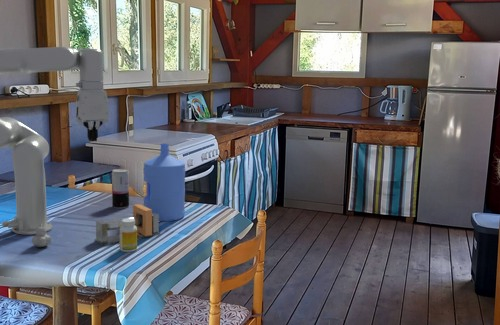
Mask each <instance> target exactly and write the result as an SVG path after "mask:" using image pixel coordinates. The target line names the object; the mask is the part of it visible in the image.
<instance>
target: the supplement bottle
mask: <svg viewBox="0 0 500 325" xmlns="http://www.w3.org/2000/svg"><path fill="white" fill-rule="evenodd" d="M126 218H127V217H126ZM122 225H123V226H121V227H120V229H119V234H120V242H119V250H120V252H123V253H131V252H135V251H137V249H138V239H137V227H136V226H135V219H131V218H127V219H123V220H122Z"/></svg>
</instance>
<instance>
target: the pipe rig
mask: <svg viewBox="0 0 500 325" xmlns="http://www.w3.org/2000/svg"><path fill="white" fill-rule="evenodd" d="M127 218H131V219H135V226H142V225H143V215H141V214H140V215H136V216H133V215H132V216H130V217H129V216H128V217H122V218H116V219H112V220H111V219H110V220H105V221H104V220H102V219H99V220H96V221H95V236H96V237H95V239H94V241H95V242H96V243H98V244H100V245H101V246H106V245H112V244H116V243H120V233H119V234H116V235H115V234H114V235H110V236H108V232H109V231H113V230H120V227H121V226H123V225H122V220H123V219H127ZM159 222H160V221H159V214H156V213H154V212H152V235H150V236H144V235H142V234H141V233H139V232H137V240H138V239H141V238H147V237H153V236H157V235H161V232H160V231H159V228H160V227H159V226H160V224H159Z"/></svg>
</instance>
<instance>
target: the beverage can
mask: <svg viewBox="0 0 500 325" xmlns="http://www.w3.org/2000/svg"><path fill="white" fill-rule="evenodd" d="M111 185H112V186H111V189H112V191H111V195H112V198H111V200H112V201H111V202H112V208H114V209H120V210H121V209H127V208H129V206H130V172H129V169H126V168H117V169H115V168H114V169H112V172H111Z"/></svg>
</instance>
